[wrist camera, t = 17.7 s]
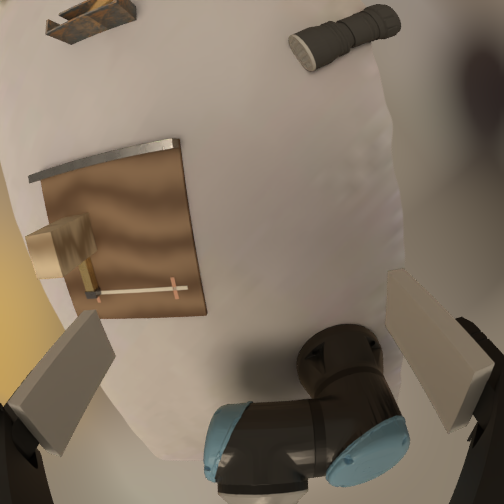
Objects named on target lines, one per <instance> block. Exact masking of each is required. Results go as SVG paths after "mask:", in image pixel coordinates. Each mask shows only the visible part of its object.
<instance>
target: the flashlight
mask: <svg viewBox="0 0 504 504" xmlns="http://www.w3.org/2000/svg"><path fill="white" fill-rule="evenodd" d="M400 29H401V22H400V19H399V17H398V15H397V14H396V12H395V11H394V10H393V9H392V8H391V7H389V6H387V5H381V4H376V5H373V6H369V7H366V8H365V9H364V11H361V12H359V13H356V14H353V15H352V16H350V17H347V18H344V19H342V20H339V21H337V22H336V23H335V22H332V21H328V22H327V23H324V24H321V25H320V26H315V27H309V28H307V29H304V30H302V31H300V32H298V33H295V34H293V35H291V36H289V44H290V47H291V49H292V51H293V53H294V54H295V56H296V57H297V59H298V60H299V62H300V63H301V64H302V66H303V67H304V68H305V69H307V70H308V71H314V70H316V69H318V68H320V67H322V66H324V65H326V64H329V63H331V62H332V61H333V60H334V59H336V58H337V57H338V56H342V55H345V54H347V53H349V51H350V48H354V47H356V46H359V45H361V44H364V43H366V42H371V41H374V40H378V39H386V38H389V37H392V36H395V35H396V34H397V33H398V32H399V31H400Z"/></svg>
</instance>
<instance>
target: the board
mask: <svg viewBox="0 0 504 504" xmlns="http://www.w3.org/2000/svg"><path fill="white" fill-rule="evenodd" d="M28 178H29V183H32V182H36V181H39V180H41V185H42V191H43V196H44V201H45V206H46V211H47V216H48V220H49V224H51V223H53V222H55V221H58V220H60V219H62V218H64V217H69V216H74V215H79V214H84V213H89V217H90V222H91V226H92V231H93V235H94V240H95V244H96V248H97V251H96V252H95V253H94V254H92V255H91V256H90V259H91V263H92V267H93V270H94V274H95V277H96V281H97V284H98V287H100V290H101V295H100V296H99V297H98V298H97V299H87V298H86V295H85V291H86V289H85V286H84V283H83V280H82V276H81V273H80V270H79V266H77V267H76V268H74V269H73V270H72V271H71V272H69V273H68V274H67V275H66V276H64V279H65V282H66V285H67V288H68V291H69V294H70V297H71V299H72V302H73V305H74V308H75V310H76V313H77V316H79V315H80V314H81V313H82V312H83V311H84V310H96V311H97V314H98V316H99V319H125V318H164V317H188V316H207V309H206V304H205V299H204V294H203V288H202V283H201V278H200V272H199V267H198V261H197V255H196V249H195V244H194V238H193V231H192V225H191V219H190V212H189V206H188V199H187V192H186V185H185V178H184V171H183V163H182V156H181V148H180V139H175V138H171V139H166V140H160V141H155V142H150V143H145V144H140V145H136V146H131V147H127V148H122V149H118V150H114V151H110V152H106V153H102V154H98V155H94V156H90V157H87V158H83V159H79V160H76V161H72V162H69V163H66V164H62V165H59V166H56V167H53V168H50V169H47V170H43V171H40V172H38V173H35V174H32V175H29V176H28Z"/></svg>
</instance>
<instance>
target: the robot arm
mask: <svg viewBox="0 0 504 504" xmlns="http://www.w3.org/2000/svg"><path fill="white" fill-rule="evenodd" d="M385 326H386V328H387V329H388V331H389V333H390V334H391V336H392V337H393V339H394V341H395V342H396V344H397V345H398V347H399V349H400V350H401V352H402V354H403V355H404V357H405V358H406V360H407V362H408V363H409V365H410V367H411V368H412V370H413V372H414V374H415V375H416V377H417V379H418V380H419V382H420V384H421V386H422V387H423V389H424V391H425V392H426V394H427V396H428V398H429V400H430V401H431V403H432V405H433V407H434V409H435V410H436V412H437V414H438V416H439V418H440V420H441V422H442V423H443V425H444V427H445V429H446V431H447V433H448V434H449V433H452V432H454V431H456V430H459V429H461V428H463V427H465V426H467V424H468V423H469V421H470V419H471V417H472V415H474V417H475V418H476V420H477V421H478V422H477V424H476V425H475V427H474V429H473V431H472V432H471V434H470V436H469V438H468V440H467V441H470V440H471V443H470V446H469V450H468V453H467V456H466V459H465V463H464V466H463V469H462V471H461V474H460V477H459V480H458V483H457V485H456V488H455V490H454V493H453V496H452V498H451V500H450V502H449V504H504V355H503V354H502V353H501V351H500V350H499V349H498V348H497V347H496V346H495V345H494V344H493V343H492V342H491V341H490V340H489V339H487V337H486V335H485V334H483V332H481V331H480V329H479V328H478V327H477V326H476V325H475V324H474V323H473V322H471V321H469V320H467V319H465V318H463V317H460V318H456V319H454V318H453V317H452V316H451V315H450V314H449V312H448V311H447V310H446V309H444V307H442V305H441V304H439V303H438V301H437V300H436V299H435V298H434V297H433V296H432V295H431V294H429V292H427V290H425V289H424V288H423V287H422V286H421V285H420V284H419V283H418V282H417V281H416V280H415V279H414V278H413V277H412V276H411V275H410V274H409V273H408V272H407V271H406V270H405V269H404V268H402V269H397V270H392V271H388V279H387V303H386V319H385ZM115 357H116V355H115V353H114V351H113V349H112V347H111V344H110V342H109V340H108V338H107V335H106V333H105V331H104V328H103V326H102V324H101V321H100V319H99V316H98V314H97V311H96V310H84V311H83V312H82V313H81V314H80V315H79V316H78V317H77V318H76V320H75V321H74V322H73V323H72V324H71V325H70V326H69V327H68V329H67V330H66V331H65V332H64V333H63V334H62V336H61V337H60V338H59V339H58V340H57V341H56V342H55V344H54V345H53V346H52V347H51V348H50V349H49V351H48V352H47V353H46V354H45V355H44V357H43V358H42V359H41V360H40V361H39V363H38V364H37V365H36V366H35V368H34V369H33V370H32V371H31V372H30V373H29V374H28V376H27V377H26V379H25V380H24V381H23V382H22V383H21V385H20V386H19V387H18V388H17V390H16V391H15V392H14V393H13V395H12V396H11V397H10V399H9V400H8V402H7V403H6V404H5V405H4V407H3V406H2V404H1V403H0V504H54V503H53V500H52V496H51V493H50V489H49V486H48V482H47V478H46V474H45V470H44V465H43V461H42V456H41V453H40V451H39V450H38V449H37V446H38V444H39V443H40V445H41V446H42V447H43V448H44V449H45V450H46V451H47V452H48V453H51V454H54V455H57V456H60V457H61V456H62V455H63V452H64V450H65V448H66V446H67V445H68V443H69V441H70V439H71V437H72V435H73V433H74V431H75V429H76V427H77V425H78V423H79V421H80V419H81V418H82V416H83V414H84V412H85V410H86V408H87V406H88V404H89V403H90V401H91V399H92V397H93V395H94V394H95V392H96V390H97V388H98V387H99V385H100V383H101V381H102V380H103V378H104V376H105V374H106V373H107V371H108V369H109V367H110V366H111V364H112V362H113V361H114V359H115ZM297 371H298V377H299V380H300V382H301V384H302V385H303V387H304V388H305V390H306V391H307V392H308V394H309V395H310V397H311V398H312V399H303V400H292V401H278V402H259V403H253V402H252V401H249V402H247V403H240V404H227V405H223V406H221V407H220V408H219V409H217V411H216V412H215V413H214V415H213V417H212V419H211V422H210V425H209V428H208V432H207V436H206V441H205V448H204V464H205V466H204V473H205V476H206V478H207V479H208V480H209V481H212V482H217V483H218V495H219V496H221V497H222V498H223V499H224V500H225V501H226V502H227V503H228V504H297V503H298V501H299V500H300V499H301V498H302V497H303V496H304V495H305V494H306V493H307V492H308V478H314V477H322V476H326V480H327V481H328V482H329V483H330V484H331V485H332V486H335V487H339V486H341V487H350V486H355V485H358V484H361V483H365V482H367V481H370V480H372V479H374V478H376V477H378V476H380V475H382V474H383V473H385V472H386V471H388V470H389V469H391V468H392V467H393V466H395V465H396V464H397V463H398V462H399V461H400V460H401V459H402V458H403V456H404V455H405V454H406V452H407V450H408V448H409V445H410V437H409V433H408V430H407V427H406V424H405V418H404V417H403V416H402V414H401V412H400V410H399V408H398V405H397V403H396V401H395V399H394V397H393V395H392V392H391V390H390V388H389V386H388V384H387V382H386V380H385V378H384V375H383V352H382V348H381V345H380V343H379V341H378V339H377V338H376V336H375V335H374V334H373V333H372V332H371V331H370V330H369V329H367V328H365V327H362V326H359V325H352V324H345V325H338V326H334V327H331V328H328V329H325V330H323V331H321V332H319V333H318V334H316V335H315V336H313V337H312V338H311V339H310V340H309V341H308V342H307V343H306V344H305V345H304V346H303V348H302V349H301V351H300V353H299V355H298V358H297ZM471 438H472V439H471Z"/></svg>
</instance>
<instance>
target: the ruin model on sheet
mask: <svg viewBox="0 0 504 504" xmlns="http://www.w3.org/2000/svg"><path fill="white" fill-rule="evenodd" d="M112 1H114V2H112ZM59 16H61V17H63V18H65V19H67V20H69V21H67V22H65V23H63V24H61V25H60V24H57V23H55V22H53V21H51V20H49V19H48V20H46V33H45V34H46V35H48V36H51V37H53V38H56V39H58V40H61V41H63V42H66V43H68V44H71V45H72V44H74V43H76V42H79V41H81V40H83V39H86V38H88V37H91V36H93V35H95V34H98V33H101V32H103V31H106V30H109V29H111V28H114V27H117V26H120V25H123V24H126V23H129V22H132V21H135V20H136V6H135V5H134V4H133V3H132V2H131V1H130V0H87V1H84V2H82V3H80V4H78V5H76V6H74V7H71V8H69V9H67V10H65V11H63V12H61V13H59Z"/></svg>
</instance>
